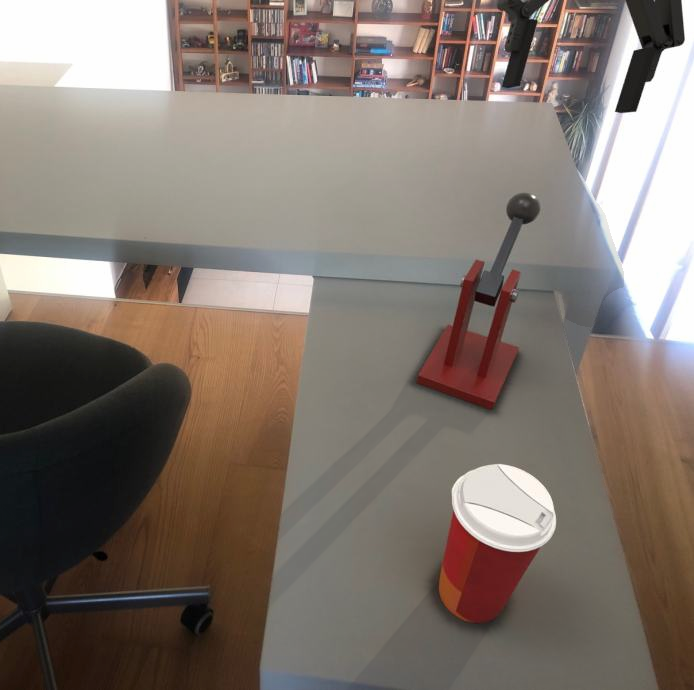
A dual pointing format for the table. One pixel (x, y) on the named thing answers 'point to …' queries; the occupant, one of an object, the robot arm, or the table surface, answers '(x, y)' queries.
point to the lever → (507, 246)
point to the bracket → (473, 348)
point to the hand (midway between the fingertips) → (568, 99)
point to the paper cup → (492, 539)
